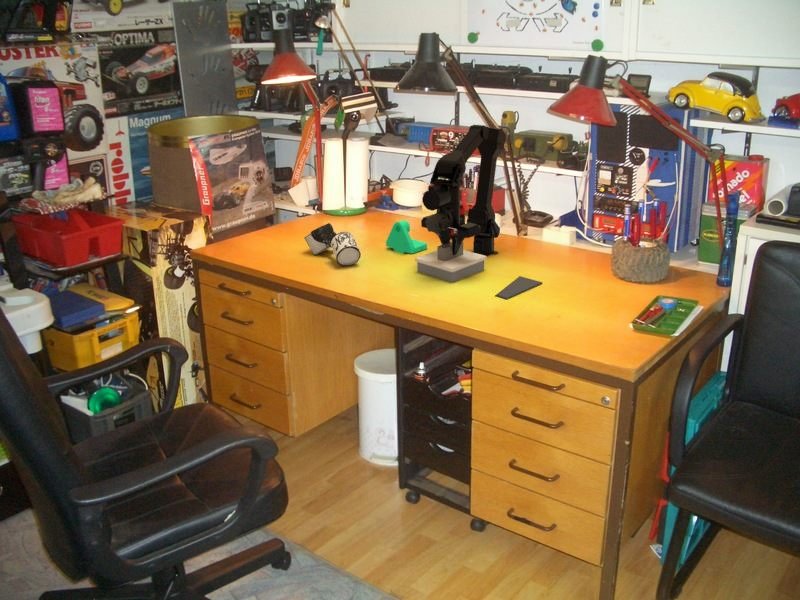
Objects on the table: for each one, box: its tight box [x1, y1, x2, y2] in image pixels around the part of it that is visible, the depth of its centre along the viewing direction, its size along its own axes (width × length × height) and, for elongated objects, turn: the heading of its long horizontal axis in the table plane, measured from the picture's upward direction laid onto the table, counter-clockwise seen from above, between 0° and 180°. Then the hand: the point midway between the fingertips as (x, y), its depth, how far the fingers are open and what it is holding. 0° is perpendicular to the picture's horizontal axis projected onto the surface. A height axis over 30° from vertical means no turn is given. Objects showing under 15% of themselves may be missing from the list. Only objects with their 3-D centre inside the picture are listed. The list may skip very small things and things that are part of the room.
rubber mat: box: [494, 275, 543, 301], centre depth 224 cm, size 16×16×1 cm
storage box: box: [416, 260, 485, 284], centre depth 235 cm, size 14×14×4 cm
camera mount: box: [385, 219, 428, 255], centre depth 256 cm, size 12×8×10 cm, turn 44°
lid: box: [414, 241, 488, 272], centre depth 233 cm, size 15×15×5 cm
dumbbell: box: [303, 222, 362, 267], centre depth 251 cm, size 25×10×10 cm, turn 36°
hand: (450, 253), depth 233 cm, fingers closed on lid, 3 cm apart
